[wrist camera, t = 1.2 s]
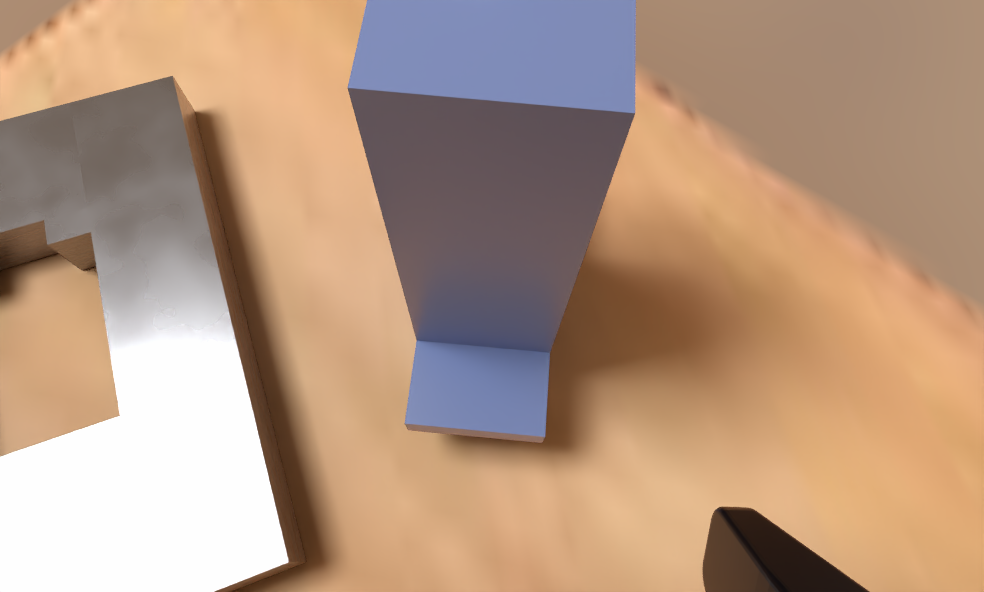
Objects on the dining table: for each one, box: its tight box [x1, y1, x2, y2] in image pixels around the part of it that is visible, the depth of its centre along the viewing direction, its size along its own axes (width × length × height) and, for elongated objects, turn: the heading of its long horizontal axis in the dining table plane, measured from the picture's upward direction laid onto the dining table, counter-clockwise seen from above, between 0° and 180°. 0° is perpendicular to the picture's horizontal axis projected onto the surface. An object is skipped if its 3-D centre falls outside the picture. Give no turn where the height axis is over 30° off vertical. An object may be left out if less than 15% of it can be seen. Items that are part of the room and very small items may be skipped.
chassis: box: [0, 76, 307, 592], centre depth 21 cm, size 18×13×2 cm
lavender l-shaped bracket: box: [348, 0, 636, 443], centre depth 16 cm, size 10×4×15 cm, turn 175°
